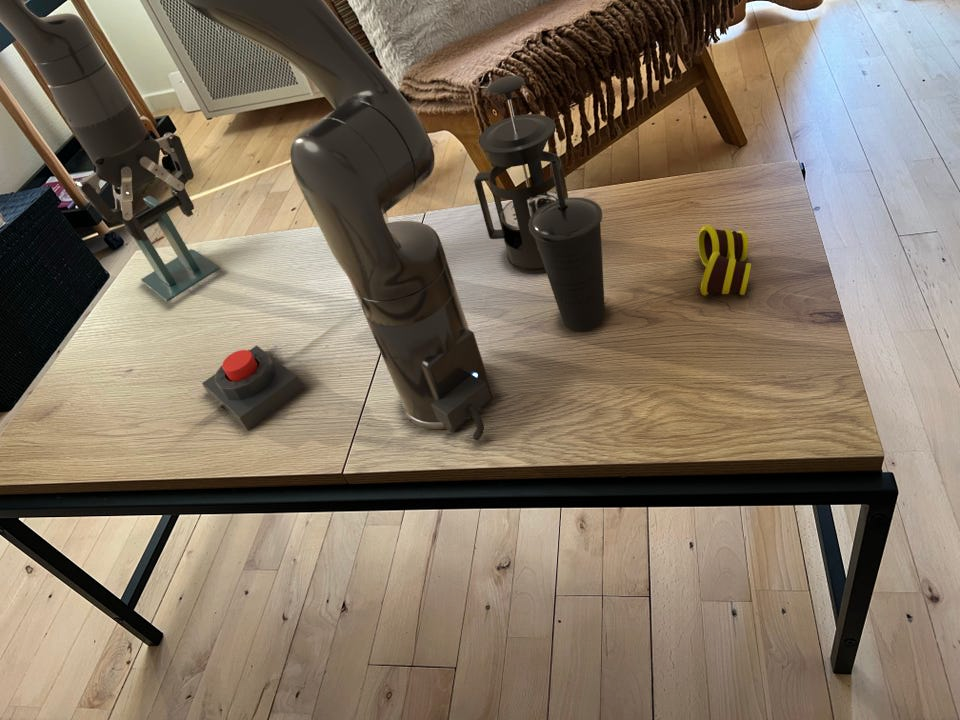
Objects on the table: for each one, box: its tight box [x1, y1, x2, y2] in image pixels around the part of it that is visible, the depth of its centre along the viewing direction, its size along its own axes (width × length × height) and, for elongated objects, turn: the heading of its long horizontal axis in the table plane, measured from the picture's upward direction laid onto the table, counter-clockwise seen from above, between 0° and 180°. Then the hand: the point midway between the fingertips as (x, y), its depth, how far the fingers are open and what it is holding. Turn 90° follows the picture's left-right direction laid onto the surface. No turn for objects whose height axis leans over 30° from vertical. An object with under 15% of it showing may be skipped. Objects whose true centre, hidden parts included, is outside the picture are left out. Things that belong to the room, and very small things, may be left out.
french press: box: [473, 75, 569, 275], centre depth 93 cm, size 12×9×23 cm
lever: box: [132, 195, 181, 231], centre depth 107 cm, size 12×6×2 cm, turn 43°
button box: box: [201, 345, 305, 432], centre depth 92 cm, size 10×8×4 cm
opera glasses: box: [697, 224, 752, 296], centre depth 87 cm, size 10×5×5 cm, turn 170°
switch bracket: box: [123, 195, 220, 302], centre depth 114 cm, size 10×9×13 cm
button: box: [221, 349, 258, 382], centre depth 90 cm, size 4×4×2 cm
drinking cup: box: [528, 161, 606, 333], centre depth 83 cm, size 8×8×20 cm
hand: (166, 226), depth 104 cm, fingers closed on lever, 6 cm apart
